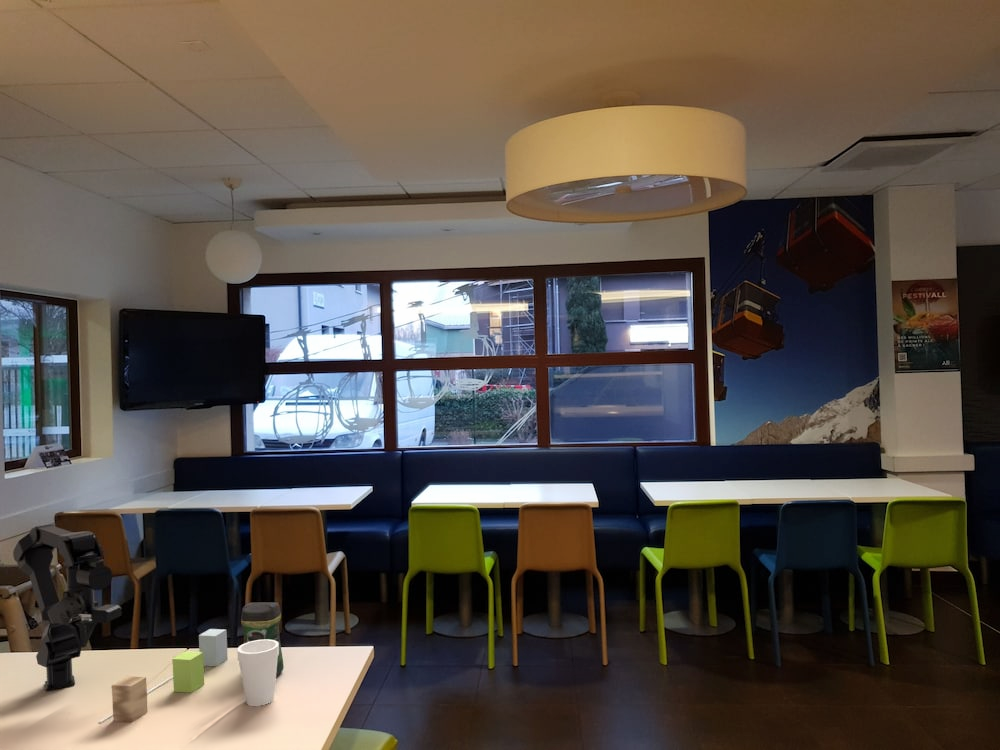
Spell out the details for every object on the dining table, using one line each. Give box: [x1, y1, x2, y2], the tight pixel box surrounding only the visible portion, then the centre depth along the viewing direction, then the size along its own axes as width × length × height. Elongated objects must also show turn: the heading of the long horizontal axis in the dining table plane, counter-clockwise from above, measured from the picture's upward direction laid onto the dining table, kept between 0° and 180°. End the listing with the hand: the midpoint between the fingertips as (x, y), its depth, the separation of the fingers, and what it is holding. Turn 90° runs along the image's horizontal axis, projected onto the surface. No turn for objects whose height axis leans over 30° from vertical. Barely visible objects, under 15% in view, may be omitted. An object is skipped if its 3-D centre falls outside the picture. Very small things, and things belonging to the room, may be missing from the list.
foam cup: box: [237, 639, 279, 707], centre depth 183 cm, size 10×9×13 cm
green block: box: [172, 651, 205, 694], centre depth 189 cm, size 5×5×8 cm
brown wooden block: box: [111, 675, 149, 723], centre depth 174 cm, size 5×5×8 cm
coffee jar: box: [240, 601, 284, 677], centre depth 199 cm, size 10×8×19 cm
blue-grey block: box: [198, 628, 229, 667], centre depth 205 cm, size 5×5×8 cm
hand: (83, 647), depth 190 cm, fingers closed
